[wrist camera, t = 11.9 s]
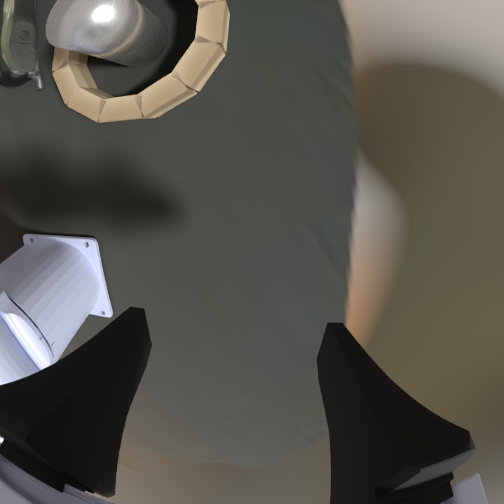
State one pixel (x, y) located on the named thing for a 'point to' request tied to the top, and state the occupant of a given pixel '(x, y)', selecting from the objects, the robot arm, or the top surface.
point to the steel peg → (108, 30)
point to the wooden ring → (160, 93)
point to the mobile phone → (18, 43)
